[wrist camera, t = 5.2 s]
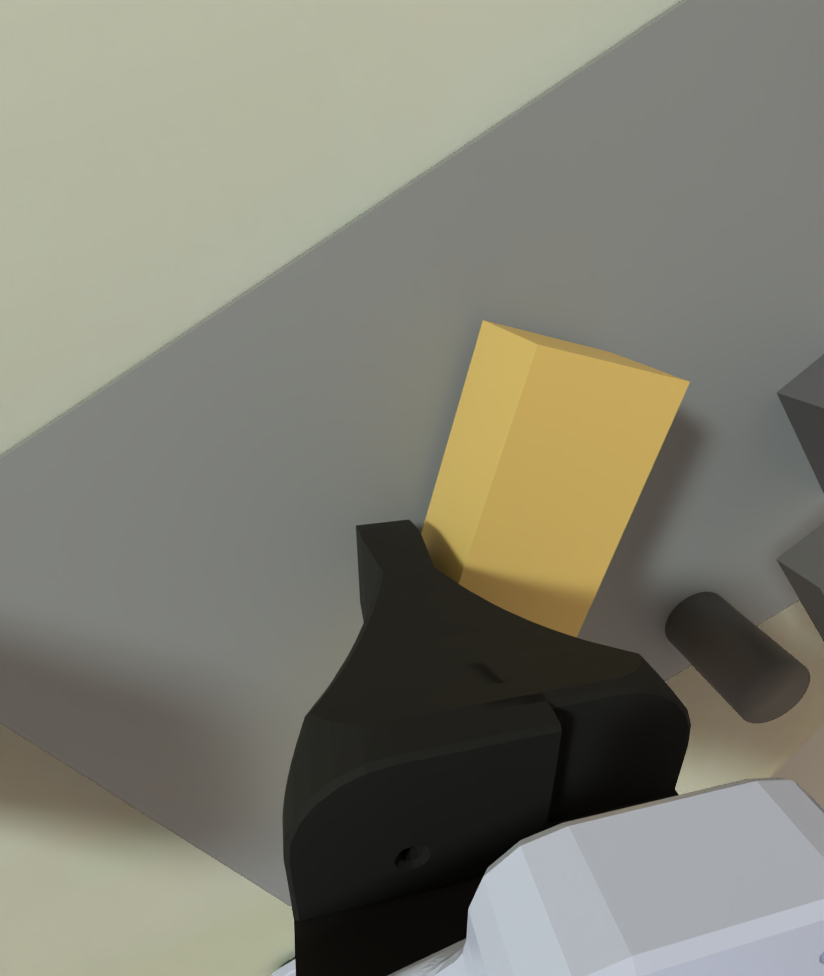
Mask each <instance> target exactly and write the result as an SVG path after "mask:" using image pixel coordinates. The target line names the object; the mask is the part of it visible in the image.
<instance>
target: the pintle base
mask: <svg viewBox="0 0 824 976" xmlns="http://www.w3.org/2000/svg"><path fill="white" fill-rule="evenodd" d="M483 320H485V321H489V322H493V323H497V324H501V325H505V326H509V327H513V328H517V329H521V330H525V331H528V332H532V333H536V334H540V335H544V336H548V337H552V338H556V339H560V340H564V341H568V342H572V343H576V344H580V345H584V346H588V347H592V348H596V349H600V350H604V351H608V352H611V353H614V354H617V355H619V356H622V357H625V358H627V359H630V360H633V361H636V362H638V363H641V364H644V365H646V366H649V367H652V368H654V369H657V370H660V371H662V372H665V373H668V374H671V375H673V376H676V377H679V378H681V379H684V380H687V381H689V382H690V383H689V386H688V388H687V390H686V392H685V395H684V397H683V399H682V401H681V404H680V406H679V408H678V410H677V413H676V415H675V417H674V419H673V422H672V424H671V426H670V428H669V431H668V433H667V435H666V437H665V440H664V442H663V444H662V446H661V449H660V451H659V453H658V455H657V458H656V460H655V462H654V464H653V467H652V469H651V471H650V473H649V476H648V478H647V480H646V482H645V485H644V487H643V489H642V491H641V494H640V496H639V498H638V501H637V503H636V505H635V507H634V510H633V512H632V514H631V516H630V519H629V521H628V523H627V525H626V528H625V530H624V532H623V534H622V537H621V539H620V541H619V543H618V546H617V548H616V550H615V552H614V555H613V557H612V559H611V561H610V564H609V566H608V568H607V570H606V573H605V575H604V577H603V579H602V582H601V584H600V586H599V588H598V591H597V593H596V595H595V597H594V600H593V602H592V604H591V606H590V609H589V611H588V613H587V615H586V618H585V620H584V622H583V625H582V627H581V629H580V631H579V634H578V636H577V638H580V639H583V640H586V641H590V642H594V643H598V644H602V645H606V646H610V647H614V648H618V649H622V650H626V651H630V652H634V653H638V654H640V655H641V656H642V657H643V658H644V659H645V660H646V661H647V662H648V663H649V664H650V666H651V667H652V668H653V669H654V670H655V671H656V672H657V673H658V674H659V675H660V676H661V678H662V679H663V680H664V681H666V680H667V679H669V678H671V677H672V676H674V675H676V674H677V673H679V672H681V671H682V670H684V669H686V668H687V667H689V666H691V665H693V666H694V667H695V669H696V670H697V671H698V672H699V673H700V674H701V675H702V676H703V677H704V678H705V679H706V680H707V681H708V682H709V683H710V684H711V685H712V686H713V687H714V689H715V690H716V691H717V692H718V693H719V694H720V695H721V696H722V697H723V698H724V699H725V700H726V701H727V702H728V703H729V704H730V705H731V706H732V707H733V709H734V710H735V711H736V712H737V713H738V714H739V715H740V716H741V717H742V718H743V719H744V720H745V721H747V722H750V723H764V722H768V721H771V720H773V719H776V718H778V717H780V716H781V715H783V714H785V713H786V712H788V711H789V710H790V709H791V708H793V707H794V706H795V705H796V704H797V703H798V702H799V701H800V699H801V698H802V697H803V695H804V694H805V692H806V690H807V688H808V685H809V682H810V674H809V671H808V669H807V668H806V667H805V666H804V665H802V664H801V663H800V662H799V661H798V660H796V659H795V658H794V657H793V656H792V655H790V654H789V653H788V652H787V651H786V650H784V649H783V648H782V647H781V646H780V645H778V644H777V643H776V642H775V641H774V640H772V639H771V638H770V637H769V636H768V635H766V634H765V633H764V632H763V631H761V630H760V629H759V628H758V627H757V625H759V624H761V623H762V622H764V621H766V620H767V619H769V618H771V617H772V616H774V615H776V614H777V613H779V612H781V611H782V610H784V609H786V608H787V607H789V606H791V605H792V604H794V603H796V602H797V601H799V600H800V601H801V603H802V605H803V606H804V608H805V610H806V611H807V613H808V615H809V617H810V618H811V620H812V622H813V624H814V625H815V627H816V629H817V630H818V632H819V634H820V636H821V637H822V639H823V641H824V0H681V1H680V2H678V3H677V4H675V5H674V6H672V7H671V8H669V9H668V10H666V11H665V12H663V13H662V14H660V15H659V16H657V17H656V18H654V19H653V20H651V21H650V22H648V23H647V24H645V25H644V26H642V27H641V28H639V29H638V30H636V31H635V32H633V33H632V34H630V35H629V36H627V37H626V38H624V39H623V40H621V41H620V42H618V43H617V44H615V45H614V46H612V47H611V48H609V49H608V50H606V51H605V52H603V53H602V54H600V55H599V56H597V57H596V58H594V59H593V60H591V61H590V62H589V63H587V64H586V65H584V66H583V67H581V68H580V69H578V70H577V71H575V72H574V73H572V74H571V75H569V76H568V77H566V78H565V79H563V80H562V81H560V82H559V83H557V84H556V85H554V86H553V87H551V88H550V89H548V90H547V91H545V92H544V93H542V94H541V95H539V96H538V97H536V98H535V99H533V100H532V101H530V102H529V103H527V104H526V105H524V106H523V107H521V108H520V109H518V110H517V111H515V112H514V113H512V114H511V115H509V116H508V117H506V118H505V119H503V120H502V121H500V122H499V123H497V124H496V125H494V126H493V127H491V128H490V129H488V130H487V131H485V132H484V133H482V134H481V135H479V136H478V137H476V138H475V139H473V140H472V141H470V142H469V143H467V144H466V145H464V146H463V147H461V148H460V149H458V150H457V151H455V152H454V153H452V154H451V155H449V156H448V157H446V158H445V159H443V160H442V161H440V162H439V163H437V164H436V165H434V166H433V167H431V168H430V169H428V170H427V171H425V172H424V173H422V174H421V175H419V176H418V177H416V178H415V179H413V180H412V181H410V182H409V183H407V184H406V185H404V186H403V187H401V188H400V189H398V190H397V191H395V192H394V193H392V194H391V195H389V196H388V197H386V198H385V199H383V200H382V201H380V202H379V203H377V204H376V205H374V206H373V207H371V208H370V209H368V210H367V211H365V212H364V213H362V214H361V215H359V216H358V217H356V218H355V219H353V220H352V221H351V222H349V223H348V224H346V225H345V226H343V227H342V228H340V229H339V230H337V231H336V232H334V233H333V234H331V235H330V236H328V237H327V238H325V239H324V240H322V241H321V242H319V243H318V244H316V245H315V246H313V247H312V248H310V249H309V250H307V251H306V252H304V253H303V254H301V255H300V256H298V257H297V258H295V259H294V260H292V261H291V262H289V263H288V264H286V265H285V266H283V267H282V268H280V269H279V270H277V271H276V272H274V273H273V274H271V275H270V276H268V277H267V278H265V279H264V280H262V281H261V282H259V283H258V284H256V285H255V286H253V287H252V288H250V289H249V290H247V291H246V292H244V293H243V294H241V295H240V296H238V297H237V298H235V299H234V300H232V301H231V302H229V303H228V304H226V305H225V306H223V307H222V308H220V309H219V310H217V311H216V312H214V313H213V314H211V315H210V316H208V317H207V318H205V319H204V320H202V321H201V322H199V323H198V324H196V325H195V326H193V327H192V328H190V329H189V330H187V331H186V332H184V333H183V334H181V335H180V336H178V337H177V338H175V339H174V340H172V341H171V342H169V343H168V344H166V345H165V346H163V347H162V348H160V349H159V350H157V351H156V352H154V353H153V354H151V355H150V356H148V357H147V358H145V359H144V360H142V361H141V362H139V363H138V364H136V365H135V366H133V367H132V368H130V369H129V370H127V371H126V372H124V373H123V374H121V375H120V376H118V377H117V378H115V379H114V380H112V381H111V382H110V383H108V384H107V385H105V386H104V387H102V388H101V389H99V390H98V391H96V392H95V393H93V394H92V395H90V396H89V397H87V398H86V399H84V400H83V401H81V402H80V403H78V404H77V405H75V406H74V407H72V408H71V409H69V410H68V411H66V412H65V413H63V414H62V415H60V416H59V417H57V418H56V419H54V420H53V421H51V422H50V423H48V424H47V425H45V426H44V427H42V428H41V429H39V430H38V431H36V432H35V433H33V434H32V435H30V436H29V437H27V438H26V439H24V440H23V441H21V442H20V443H18V444H17V445H15V446H14V447H12V448H11V449H9V450H8V451H6V452H5V453H3V454H2V455H0V723H1V724H2V725H4V726H6V727H7V728H9V729H10V730H12V731H13V732H15V733H17V734H18V735H20V736H21V737H23V738H25V739H26V740H28V741H29V742H31V743H32V744H34V745H36V746H37V747H39V748H40V749H42V750H43V751H45V752H47V753H48V754H50V755H51V756H53V757H55V758H56V759H58V760H59V761H61V762H62V763H64V764H66V765H67V766H69V767H70V768H72V769H74V770H75V771H77V772H78V773H80V774H81V775H83V776H85V777H86V778H88V779H89V780H91V781H93V782H94V783H96V784H97V785H99V786H100V787H102V788H104V789H105V790H107V791H108V792H110V793H112V794H113V795H115V796H116V797H118V798H119V799H121V800H123V801H124V802H126V803H127V804H129V805H131V806H132V807H134V808H135V809H137V810H138V811H140V812H142V813H143V814H145V815H146V816H148V817H150V818H151V819H153V820H154V821H156V822H157V823H159V824H161V825H162V826H164V827H165V828H167V829H169V830H170V831H172V832H173V833H175V834H176V835H178V836H180V837H181V838H183V839H184V840H186V841H187V842H189V843H191V844H192V845H194V846H195V847H197V848H199V849H200V850H202V851H203V852H205V853H206V854H208V855H210V856H211V857H213V858H214V859H216V860H218V861H219V862H221V863H222V864H224V865H225V866H227V867H229V868H230V869H232V870H233V871H235V872H237V873H238V874H240V875H241V876H243V877H244V878H246V879H248V880H249V881H251V882H252V883H254V884H256V885H257V886H259V887H260V888H262V889H263V890H265V891H267V892H268V893H270V894H271V895H273V896H275V897H276V898H278V899H279V900H281V901H282V902H284V903H286V904H287V905H289V906H292V905H291V899H290V893H289V888H288V882H287V876H286V870H285V865H284V859H283V824H282V814H283V803H284V795H285V789H286V783H287V778H288V774H289V769H290V765H291V761H292V758H293V754H294V750H295V747H296V743H297V740H298V737H299V734H300V730H301V727H302V724H303V721H304V718H305V716H306V714H307V713H308V712H309V711H310V709H311V708H312V707H313V706H314V704H315V703H316V702H317V700H318V699H319V698H320V697H321V695H322V694H323V693H324V691H325V690H326V689H327V688H328V686H329V685H330V683H331V682H332V680H333V679H334V677H335V676H336V674H337V672H338V671H339V669H340V668H341V666H342V664H343V663H344V661H345V659H346V658H347V656H348V654H349V653H350V651H351V649H352V647H353V645H354V643H355V641H356V639H357V637H358V634H359V632H360V630H361V628H362V626H363V623H364V622H363V616H362V610H361V605H360V591H359V574H358V556H357V539H356V525H364V524H373V523H382V522H391V521H399V520H408V519H409V520H410V521H411V522H412V523H413V524H414V525H415V526H416V527H417V528H418V530H419V531H420V533H421V532H422V529H423V526H424V522H425V519H426V515H427V512H428V508H429V505H430V501H431V498H432V494H433V491H434V488H435V484H436V481H437V477H438V474H439V470H440V467H441V463H442V460H443V456H444V453H445V449H446V446H447V443H448V439H449V436H450V432H451V429H452V425H453V422H454V418H455V415H456V411H457V408H458V405H459V401H460V398H461V394H462V391H463V387H464V384H465V380H466V377H467V373H468V370H469V366H470V363H471V360H472V356H473V353H474V349H475V346H476V342H477V339H478V335H479V332H480V328H481V325H482V322H483Z"/></svg>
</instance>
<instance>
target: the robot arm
mask: <svg viewBox="0 0 824 976" xmlns="http://www.w3.org/2000/svg"><path fill="white" fill-rule="evenodd" d="M356 539H357V556H358V574H359V591H360V605H361V610H362V616H363V622H364V623H363V626H362V628H361V630H360V632H359V634H358V637H357V639H356V641H355V643H354V645H353V647H352V649H351V651H350V653H349V654H348V656H347V658H346V659H345V661H344V663H343V664H342V666H341V668H340V669H339V671H338V672H337V674H336V676H335V677H334V679H333V680H332V682H331V683H330V685H329V686H328V688H327V689H326V690H325V691H324V693H323V694H322V695H321V697H320V698H319V699H318V700H317V702H316V703H315V704H314V706H313V707H312V708H311V709H310V711H309V712H308V713H307V714H306V716H305V718H304V721H303V724H302V727H301V730H300V734H299V737H298V740H297V743H296V747H295V750H294V754H293V758H292V761H291V765H290V769H289V774H288V778H287V783H286V789H285V795H284V803H283V814H282V824H283V859H284V865H285V870H286V876H287V882H288V888H289V893H290V899H291V905H292V910H293V916H294V928H295V959H294V960H292V961H290V962H289V963H287V964H285V965H284V966H282V967H280V968H279V969H277V970H276V971H274V972H273V973H272V975H271V976H824V810H823V808H822V807H821V806H820V805H819V804H818V803H817V802H816V801H815V800H814V799H813V798H812V797H811V796H810V795H809V794H808V793H807V792H806V791H805V790H803V789H802V788H801V787H800V786H799V785H798V784H796V783H795V782H794V781H793V780H789V779H783V778H760V779H744V780H740V781H736V782H732V783H728V784H723V785H719V786H715V787H711V788H707V789H703V790H698V791H694V792H690V793H686V794H682V795H678V793H677V792H676V791H675V786H676V783H677V780H678V776H679V773H680V770H681V766H682V763H683V760H684V756H685V753H686V750H687V746H688V741H689V734H690V727H691V724H690V719H689V715H688V711H687V709H686V707H685V706H684V705H683V704H682V702H681V701H680V700H679V698H678V697H677V696H676V695H675V693H674V692H673V691H672V690H671V689H670V687H669V686H668V685H667V684H666V683H665V681H664V680H663V679H662V678H661V676H660V675H659V674H658V673H657V672H656V671H655V670H654V669H653V668H652V667H651V666H650V664H649V663H648V662H647V661H646V660H645V659H644V658H643V657H642V656H641V655H640V654H638V653H634V652H630V651H626V650H622V649H618V648H614V647H610V646H606V645H602V644H598V643H594V642H590V641H586V640H583V639H580V638H577V637H573V636H570V635H567V634H564V633H561V632H558V631H555V630H552V629H550V628H547V627H544V626H542V625H539V624H536V623H534V622H531V621H529V620H527V619H525V618H522V617H520V616H518V615H515V614H513V613H511V612H509V611H506V610H504V609H502V608H500V607H498V606H496V605H494V604H492V603H490V602H489V601H487V600H485V599H483V598H482V597H480V596H478V595H476V594H474V593H473V592H471V591H469V590H468V589H466V588H464V587H463V586H461V585H460V584H458V583H457V582H455V581H454V580H452V579H451V578H449V577H448V576H446V575H445V574H444V573H442V572H441V571H439V570H438V569H437V568H435V567H434V565H433V563H432V560H431V558H430V555H429V552H428V550H427V547H426V545H425V542H424V540H423V537H422V535H421V533H420V531H419V530H418V528H417V527H416V526H415V525H414V524H413V523H412V522H411V521H410V520H409V519H408V520H399V521H391V522H382V523H373V524H364V525H356Z"/></svg>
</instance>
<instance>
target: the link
mask: <svg viewBox="0 0 824 976" xmlns="http://www.w3.org/2000/svg"><path fill="white" fill-rule="evenodd" d="M689 383H690V382H689V381H687V380H684V379H681V378H679V377H676V376H673V375H671V374H668V373H665V372H662V371H660V370H657V369H654V368H652V367H649V366H646V365H644V364H641V363H638V362H636V361H633V360H630V359H627V358H625V357H622V356H619V355H617V354H614V353H611V352H608V351H604V350H600V349H596V348H592V347H588V346H584V345H580V344H576V343H572V342H568V341H564V340H560V339H556V338H552V337H548V336H544V335H540V334H536V333H532V332H528V331H525V330H521V329H517V328H513V327H509V326H505V325H501V324H497V323H493V322H489V321H485V320H483V322H482V325H481V328H480V332H479V335H478V339H477V342H476V346H475V349H474V353H473V356H472V360H471V363H470V366H469V370H468V373H467V377H466V380H465V384H464V387H463V391H462V394H461V398H460V401H459V405H458V408H457V411H456V415H455V418H454V422H453V425H452V429H451V432H450V436H449V439H448V443H447V446H446V449H445V453H444V456H443V460H442V463H441V467H440V470H439V474H438V477H437V481H436V484H435V488H434V491H433V494H432V498H431V501H430V505H429V508H428V512H427V515H426V519H425V522H424V526H423V529H422V532H421V535H422V537H423V540H424V542H425V545H426V547H427V550H428V552H429V555H430V558H431V560H432V563H433V565H434V567H435V568H437V569H438V570H439V571H441V572H442V573H444V574H445V575H446V576H448V577H449V578H451V579H452V580H454V581H455V582H457V583H458V584H460V585H461V586H463V587H464V588H466V589H468V590H469V591H471V592H473V593H474V594H476V595H478V596H480V597H482V598H483V599H485V600H487V601H489V602H490V603H492V604H494V605H496V606H498V607H500V608H502V609H504V610H506V611H509V612H511V613H513V614H515V615H518V616H520V617H522V618H525V619H527V620H529V621H531V622H534V623H536V624H539V625H542V626H544V627H547V628H550V629H552V630H555V631H558V632H561V633H564V634H567V635H570V636H573V637H577V636H578V634H579V631H580V629H581V627H582V625H583V622H584V620H585V618H586V615H587V613H588V611H589V609H590V606H591V604H592V602H593V600H594V597H595V595H596V593H597V591H598V588H599V586H600V584H601V582H602V579H603V577H604V575H605V573H606V570H607V568H608V566H609V564H610V561H611V559H612V557H613V555H614V552H615V550H616V548H617V546H618V543H619V541H620V539H621V537H622V534H623V532H624V530H625V528H626V525H627V523H628V521H629V519H630V516H631V514H632V512H633V510H634V507H635V505H636V503H637V501H638V498H639V496H640V494H641V491H642V489H643V487H644V485H645V482H646V480H647V478H648V476H649V473H650V471H651V469H652V467H653V464H654V462H655V460H656V458H657V455H658V453H659V451H660V449H661V446H662V444H663V442H664V440H665V437H666V435H667V433H668V431H669V428H670V426H671V424H672V422H673V419H674V417H675V415H676V413H677V410H678V408H679V406H680V404H681V401H682V399H683V397H684V395H685V392H686V390H687V388H688V386H689Z"/></svg>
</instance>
